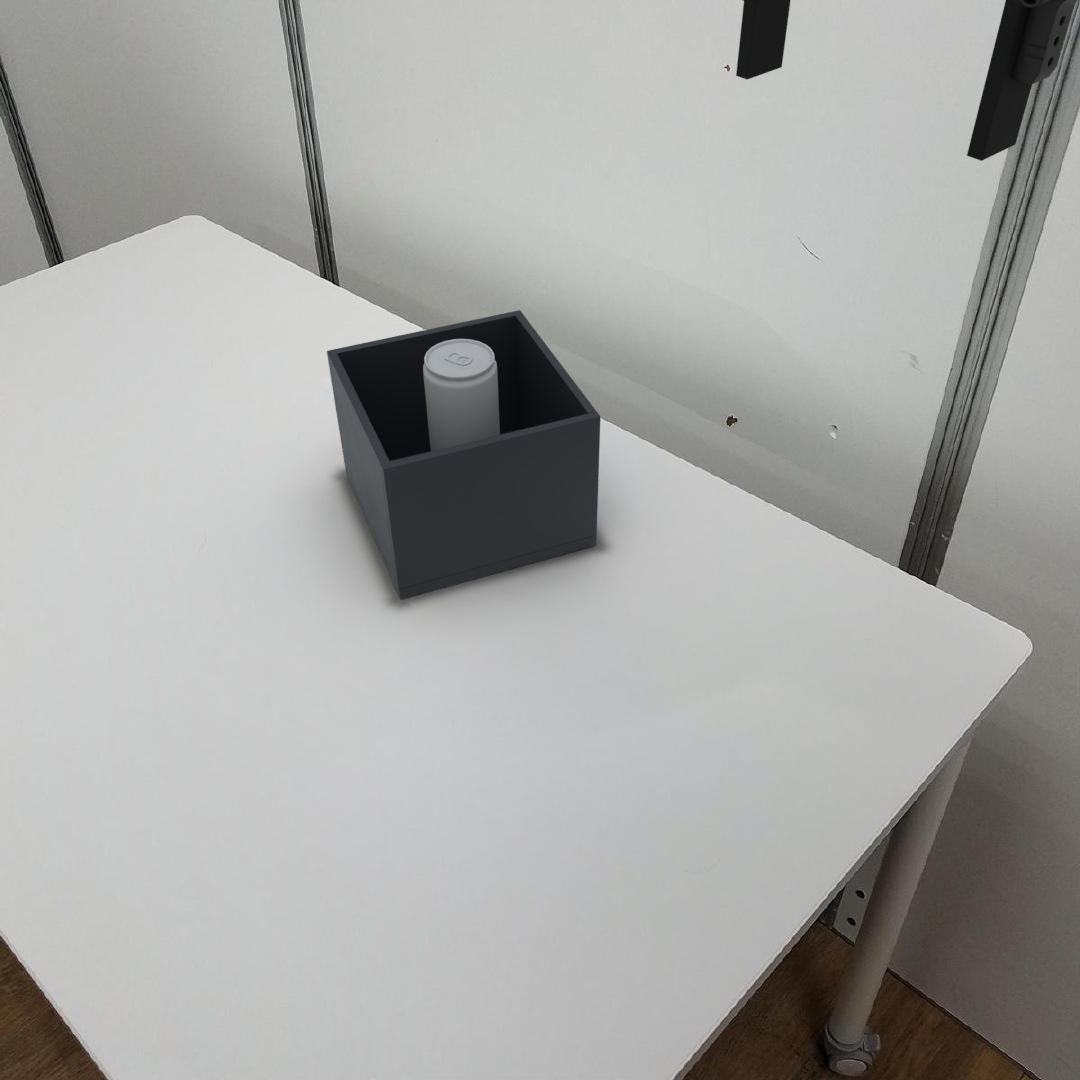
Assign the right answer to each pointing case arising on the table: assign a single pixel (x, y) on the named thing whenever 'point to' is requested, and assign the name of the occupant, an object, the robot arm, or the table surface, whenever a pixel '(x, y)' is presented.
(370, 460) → the trash bin
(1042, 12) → the robot arm
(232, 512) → the table surface
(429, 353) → the beverage can
